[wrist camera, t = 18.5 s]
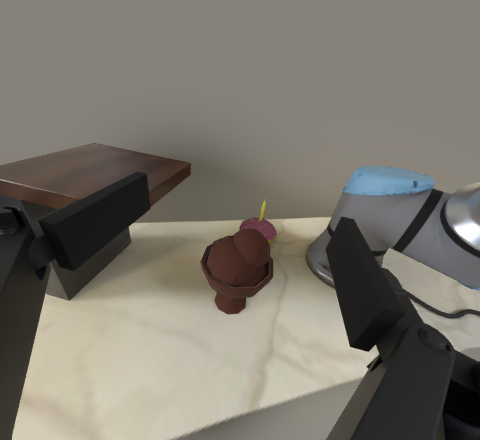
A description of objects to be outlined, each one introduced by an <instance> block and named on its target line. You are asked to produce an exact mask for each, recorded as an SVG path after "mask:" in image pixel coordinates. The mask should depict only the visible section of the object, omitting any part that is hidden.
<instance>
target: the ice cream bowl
mask: <svg viewBox="0 0 480 440" xmlns="http://www.w3.org/2000/svg"><path fill="white" fill-rule="evenodd" d="M201 266H202V269H203V271H204V274H205V276H206V278H207V280H208V282H209V284H210V286H211V287H212V289H214V290H215V291H217V295H216V299H215V302H216V304H217V306H218V309H219V310H221V311H223V312H225V313H226V314H238V313H239V312H240V311H242V310H243V309H244V308H245V305H246V297H252V296H254V295H255V294H256V293H257V292H259V291H260V290H261V289H262V288H263V287H264V286H266V285H267V284H268V283H269V282H270V280H271V279H272V278H273V259H272V258H271V257H270V246H269V243H268V240H267V239H266V237H265V236H264V235H263V234H262V233H261V232H259V231H258V230H256V229H243V230H240V231H238V232H237V233H235V235H234V236H227V237H224V238H222V239H219V240H216V241H214V242H213V244H211V245H209V246H207V248H206V250H205V253H204V255H203V257H202V260H201Z"/></svg>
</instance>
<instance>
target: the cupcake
mask: <svg viewBox="0 0 480 440" xmlns="http://www.w3.org/2000/svg"><path fill="white" fill-rule="evenodd" d="M265 200H266V199H265ZM265 205H266V202H265V201H264V202H263V205H262V209H261V214H260V218H250V219H247V220H246V221H243V222H242V224H241V226H240V230H243V229H256V230H258V231H259V232H261V233H262V234H263V235H264V236H265V237H266V239H267V240H268V243H269V245H270V244H271V243H272V242H273V241H274V240H275V238H276V235H277V233H276V230H275V227H274V226H273V225H272V224H271V223H270V222H268V221H267V220H264V219H262V218H263V214H264V209H265ZM240 230H239V231H240Z"/></svg>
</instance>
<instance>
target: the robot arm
mask: <svg viewBox="0 0 480 440" xmlns="http://www.w3.org/2000/svg"><path fill="white" fill-rule="evenodd" d="M434 182H435V180H434V179H433V178H432V177H430V176H428V175H424V174H420V173H418V172H414V171H409V170H404V169H399V168H392V167H382V166H367V167H362V168H359V169H357V170H356V171H354V172H353V174H352V176H351V178H350V179H349V181H348V183H347V185H346V186H345V187H344V189H343V193H342V195H341V198H340V200H339V202H338V204H337V207H336V209H335V211H334V213H333V215H332V218H331V220H330V222H329V225H328V227H327V229H326V230H325V231H324V232H323V233H322V234H321V235H320V236H319V237H318V238H317V239H316V240H315V241H314V242H313V243H312V244H311V245H310V246H309V249H308V251H307V254H306V260H307V263H308V265H309V267H310V268H311V270H312V271H313V272H314V273H315V274H316V275H317V276H318V277H319V278H320V279H321V280H322V281H324V282H325V283H327V284H328V285H330V286H332V287H334V288H335V289H336V293H337V297H338V301H339V305H340V309H341V313H342V317H343V321H344V325H345V329H346V332H347V336H348V340H349V344H350V347H353V348H356V349H360V350H364V351H367V352H369V351H370V350H371V349H372V348H373V347H374V346H375V345H376V346H377V349H378V352H379V355H378V356H377V357H376V358H375V359H374V360H373V361H372V362H371V363H370V364H369V365H368V366H367V368H369V369H368V371H367V373H366V374H365V376H364V378H363V379H362V381H361V383H360V384H359V386H358V388H357V389H356V391H355V393H354V394H353V396H352V398H351V399H350V401H349V403H348V404H347V406H346V407H345V409H344V411H343V412H342V414H341V416H340V417H339V419H338V421H337V422H336V424H335V426H334V427H333V429H332V431H331V432H330V434H329V436H328V437H327V439H326V440H480V362H478V361H476V360H474V359H472V358H470V357H468V356H466V355H464V354H462V353H460V352H458V351H456V350H454V348H453V346H452V344H451V343H450V342H449V341H448V339H447V338H446V337H445V336H444V335H443V334H441V333H440V332H439V331H438V330H436V329H435V328H433V327H431V326H430V325H428V324H425V323H424V322H423V321H422V319H421V317H420V316H419V314H418V313H417V311H416V309H415V308H414V306H413V304H412V303H411V301H410V299H409V298H408V296H409V297H410V298H412V299H413V300H415V301H416V302H418V303H419V304H421V305H422V306H424V307H425V308H427V309H429V310H431V311H433V312H435V313H437V314H439V315H441V316H444V317H448V318H453V319H454V318H460V317H462V316H464V315H466V314H468V313H472V314H477V315H480V312H479V311H476V310H471V309H467V310H463V311H461V312H459V313H457V314H447V313H444V312H441V311H439V310H437V309H435V308H433V307H431V306H429V305H427V304H426V303H424V302H423V301H421V300H419V299H418V298H416V297H415V296H414V295H412V294H410V293H409V292H407V291H406V290H404V289H403V288H402V286H401V285H400V283H399V281H398V280H397V278H396V277H395V276H394V275H393V274H392V273H391V272H390V271H389V270H388V269H385V268H381V267H382V261H383V256H384V254H385V253H386V251H387V250H388V249H389V248H391V249H394V250H396V251H398V252H400V253H402V254H404V255H406V256H408V257H410V258H412V259H414V260H416V261H418V262H420V263H422V264H424V265H426V266H428V267H430V268H432V269H435V270H437V271H439V272H441V273H443V274H445V275H447V276H449V277H451V278H453V279H455V280H457V281H458V282H459V283H461V284H463V285H464V286H466V287H468V288H471V289H475V290H478V291H480V182H477V183H473V184H469V185H466V186H464V187H462V188H460V189H458V190H457V191H456V192H455V193H453V194H449V193H445V192H442V191H438V190H435V189H433V187H434ZM150 209H151V207H150V197H149V188H148V178H147V174H145V173H141V172H135V173H133V174H131V175H129V176H127V177H125V178H123V179H121V180H119V181H117V182H115V183H113V184H111V185H109V186H107V187H105V188H103V189H101V190H99V191H97V192H95V193H93V194H91V195H89V196H87V197H85V198H83V199H80V200H77V201H73V202H71V203H69V204H67V205H65V207H61V208H59V209H57V211H56V210H55V211H53V212H51V213H49V214H47V215H45V216H43V217H41V218H39V219H37V220H35V221H33V222H31V223H29V221H28V219H27V217H26V215H25V213H24V211H23V209H22V208H21V207H19V206H15V205H3V206H0V440H12V433H13V429H14V424H15V420H16V416H17V412H18V407H19V403H20V399H21V395H22V390H23V386H24V382H25V378H26V373H27V369H28V365H29V361H30V356H31V352H32V348H33V344H34V339H35V335H36V331H37V327H38V322H39V318H40V314H41V310H42V305H43V301H44V297H45V293H46V288H47V284H48V280H49V276H50V271H51V266H50V264H49V263H50V262H51V261H53V260H54V259H56V261H57V263H58V265H59V267H60V268H63V269H66V270H70V271H75V270H76V269H78V268H79V267H80V266H81V265H83V264H84V263H85V262H86V261H87V260H89V259H90V258H91V257H92V256H94V255H95V254H96V253H97V252H98V251H100V250H101V249H102V248H103V247H104V246H106V245H107V244H108V243H109V242H111V241H112V240H113V239H114V238H115V237H117V236H118V235H119V234H120V233H122V232H123V231H124V230H125V229H126V228H128V227H129V226H130V225H131V224H133V223H134V222H135V221H136V220H137V219H139V218H140V217H141V216H142V215H143V214H145V213H146V212H147V211H148V210H150ZM406 295H407V296H406Z"/></svg>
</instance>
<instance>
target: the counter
mask: <svg viewBox="0 0 480 440" xmlns="http://www.w3.org/2000/svg"><path fill="white" fill-rule="evenodd" d="M135 172H141V173H145V174H147V178H148V188H149V197H150V207H151V206H153V205H154V204H155V203H156V202H157V201H159V200H160V199H161V198H162V197H164V196H165V195H166V194H167V193H168V192H170V191H171V190H172V189H173V188H175V187H176V186H177V185H178V184H180V183H181V182H182V181H183V180H185V179H186V178H187V177H188V176H190V174H191V163H188V162H183V161H178V160H173V159H169V158H164V157H159V156H154V155H150V154H145V153H140V152H135V151H131V150H125V149H121V148H116V147H111V146H107V145H101V144H97V143H92V144H89V145H84V146H80V147H76V148H72V149H67V150H63V151H59V152H55V153H51V154H46V155H42V156H38V157H34V158H30V159H25V160H21V161H17V162H13V163H9V164H5V165H0V206H3V205H15V206H19V207H21V208H22V209H23V211H24V213H25V215H26V217H27V219H28V221H29V223H31V222H33V221H35V220H37V219H39V218H41V217H43V216H45V215H47V214H49V213H51V212H53V211H55V210H56V211H57V209H59V208H61V207H65V205H67V204H69V203H71V202H73V201H77V200H80V199H83V198H85V197H87V196H89V195H91V194H93V193H95V192H97V191H99V190H101V189H103V188H105V187H107V186H109V185H111V184H113V183H115V182H117V181H119V180H121V179H123V178H125V177H127V176H129V175H131V174H133V173H135ZM130 243H131V238H130V233H129V227H128V228H126V229H125V230H124V231H123V232H122V233H120V234H119V235H118V236H117V237H115V238H114V239H113V240H112V241H111V242H109V243H108V244H107V245H106V246H104V247H103V248H102V249H101V250H100V251H98V252H97V253H96V254H95V255H94V256H92V257H91V258H90V259H89V260H87V261H86V262H85V263H84V264H83V265H81V266H80V267H79V268H78V269H76V270H75V271H70V270H66V269H63V268H60V267H59V265H58V263H57V261H56V259H54V260H53V261H51V262H50V263H49V264H50V266H51V271H50V276H49V280H48V284H47V288H46V294H48V295H51V296H55V297H58V298H62V299H65V300H70V299H72V298H73V297H74V296H75V295H76V294H77V293H78V292H79V291H80V290H81V289H82V288H83V287H84V286H85V285H87V284H88V283H89V282H90V281H91V280H92V279H93V278H94V277H95V276H96V275H97V274H98V273H99V272H100V271H101V270H103V269H104V268H105V267H106V266H107V265H108V264H109V263H110V262H111V261H112V260H113V259H114V258H115V257H116V256H117V255H119V254H120V253H121V252H122V251H123V250H124V249H125V248H126V247H127V246H128V245H129V244H130Z"/></svg>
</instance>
